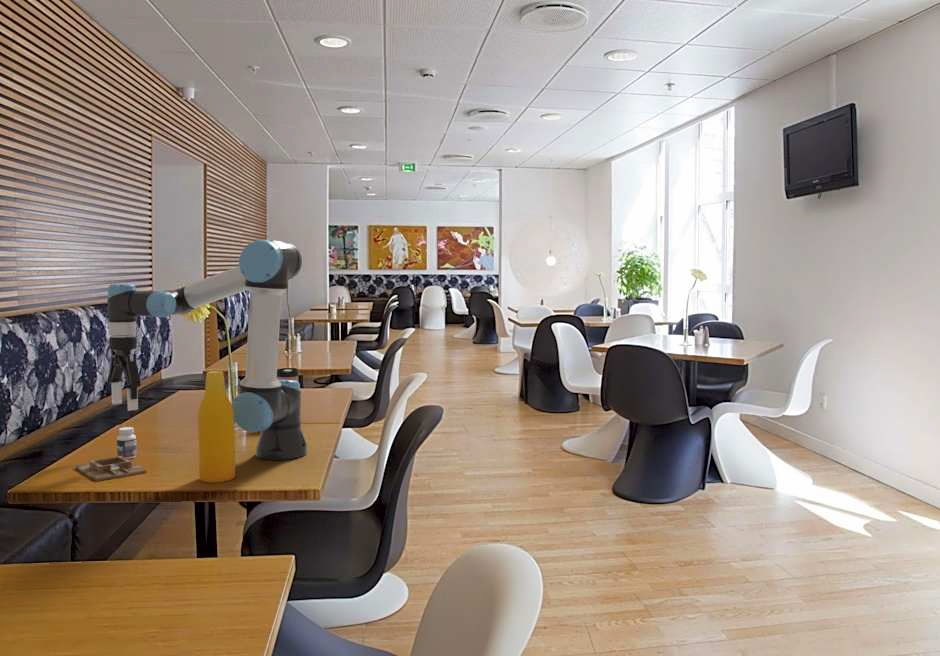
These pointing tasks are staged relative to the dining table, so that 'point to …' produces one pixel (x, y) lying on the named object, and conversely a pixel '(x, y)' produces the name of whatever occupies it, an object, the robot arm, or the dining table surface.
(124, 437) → the pill bottle
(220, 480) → the beer bottle
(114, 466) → the organizer
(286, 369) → the travel mug
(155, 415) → the dining table surface
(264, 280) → the robot arm
